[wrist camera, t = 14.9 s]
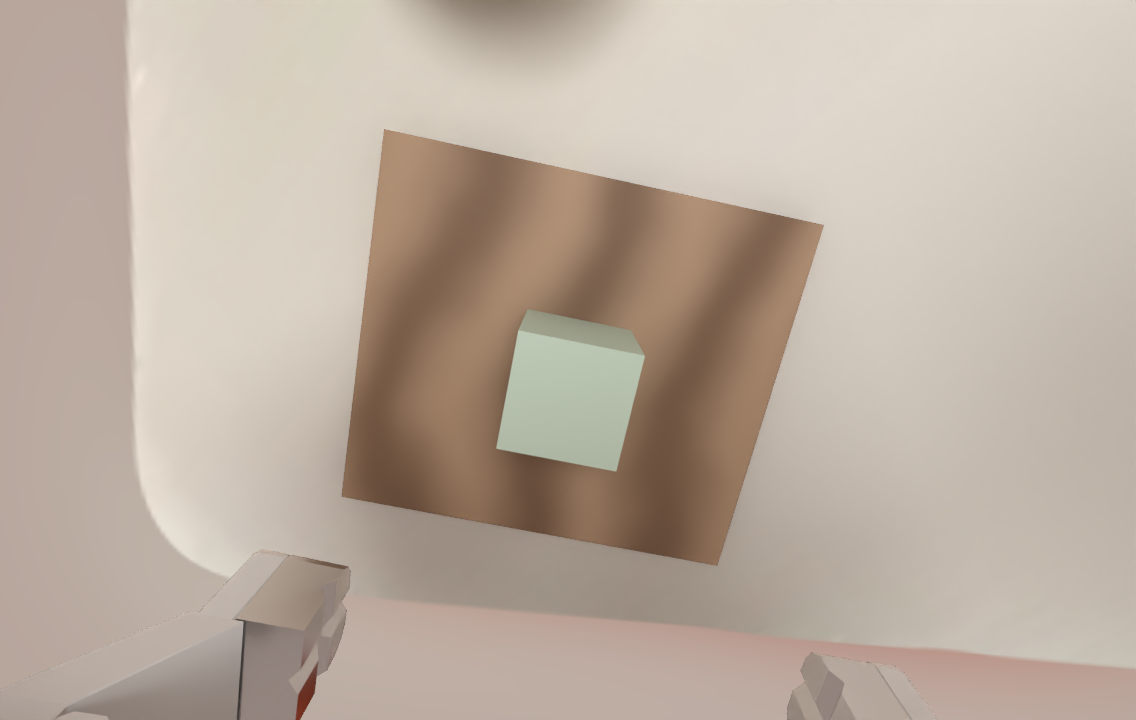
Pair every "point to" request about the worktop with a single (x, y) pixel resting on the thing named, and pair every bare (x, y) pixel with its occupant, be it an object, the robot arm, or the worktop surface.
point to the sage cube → (570, 390)
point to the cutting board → (576, 290)
